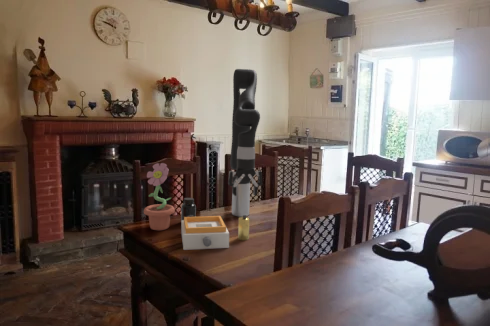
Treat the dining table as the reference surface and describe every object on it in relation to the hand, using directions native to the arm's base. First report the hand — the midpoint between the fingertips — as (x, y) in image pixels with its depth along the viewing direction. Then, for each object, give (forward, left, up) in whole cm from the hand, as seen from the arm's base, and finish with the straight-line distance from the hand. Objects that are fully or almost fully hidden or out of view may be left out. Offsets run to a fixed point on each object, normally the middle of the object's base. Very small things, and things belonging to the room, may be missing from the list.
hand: (244, 195), depth 161 cm
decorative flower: (-19, -36, -19) cm, 45 cm away
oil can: (0, 0, -19) cm, 19 cm away
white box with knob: (+1, -17, -19) cm, 26 cm away
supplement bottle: (-25, -22, -19) cm, 39 cm away
